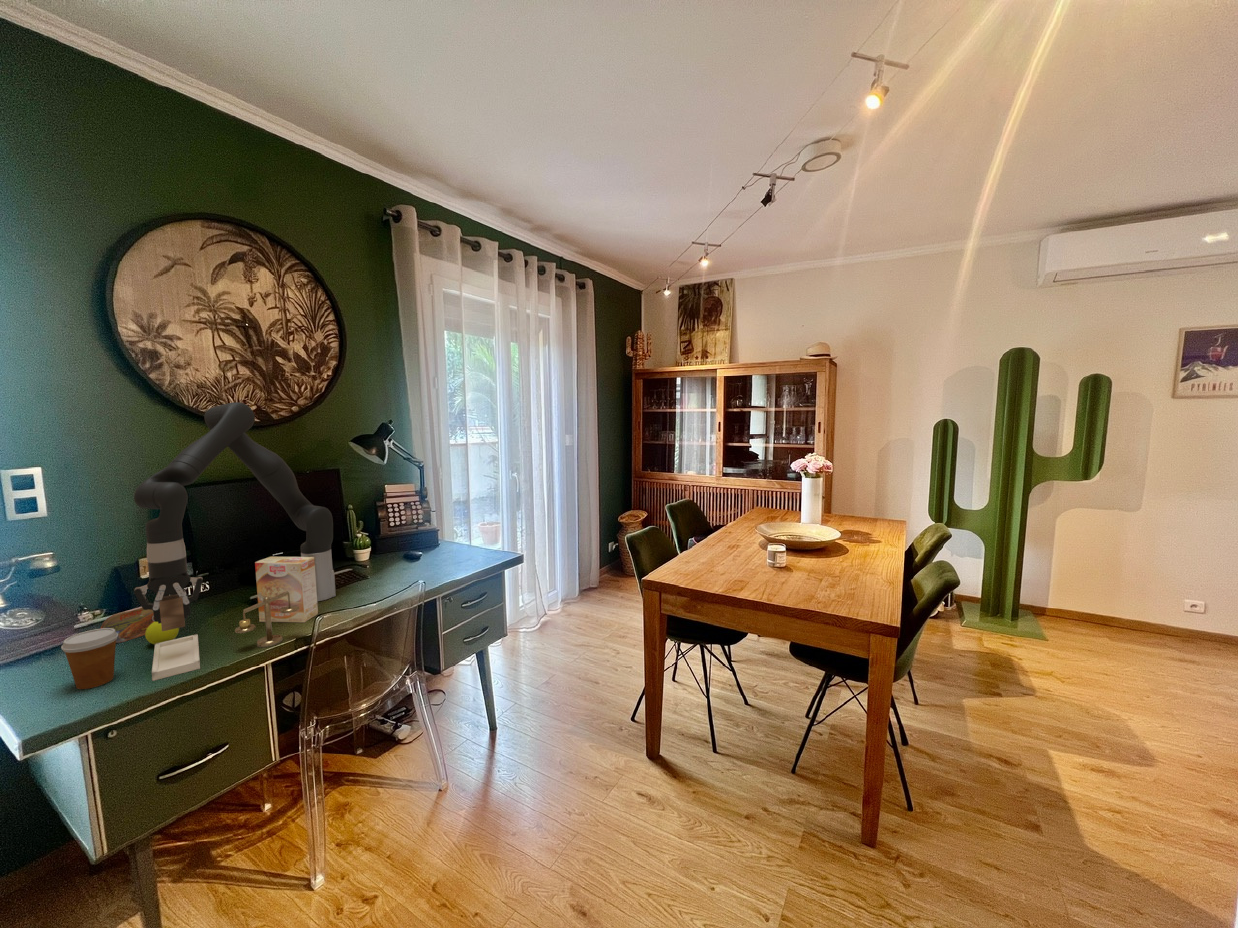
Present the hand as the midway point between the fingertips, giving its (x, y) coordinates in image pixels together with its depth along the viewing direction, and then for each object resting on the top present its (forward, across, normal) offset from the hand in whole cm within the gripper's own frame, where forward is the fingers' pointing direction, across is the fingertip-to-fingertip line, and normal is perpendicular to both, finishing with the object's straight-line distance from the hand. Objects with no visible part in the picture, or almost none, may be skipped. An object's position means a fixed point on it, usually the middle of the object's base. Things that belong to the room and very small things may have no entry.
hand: (172, 619), depth 132 cm
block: (+2, 0, 0) cm, 2 cm away
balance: (+11, -20, +5) cm, 23 cm away
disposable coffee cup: (+11, +15, +2) cm, 19 cm away
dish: (+11, 0, 0) cm, 11 cm away
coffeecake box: (+11, -27, -12) cm, 32 cm away
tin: (+11, +9, -27) cm, 31 cm away
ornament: (+11, +3, -15) cm, 19 cm away
